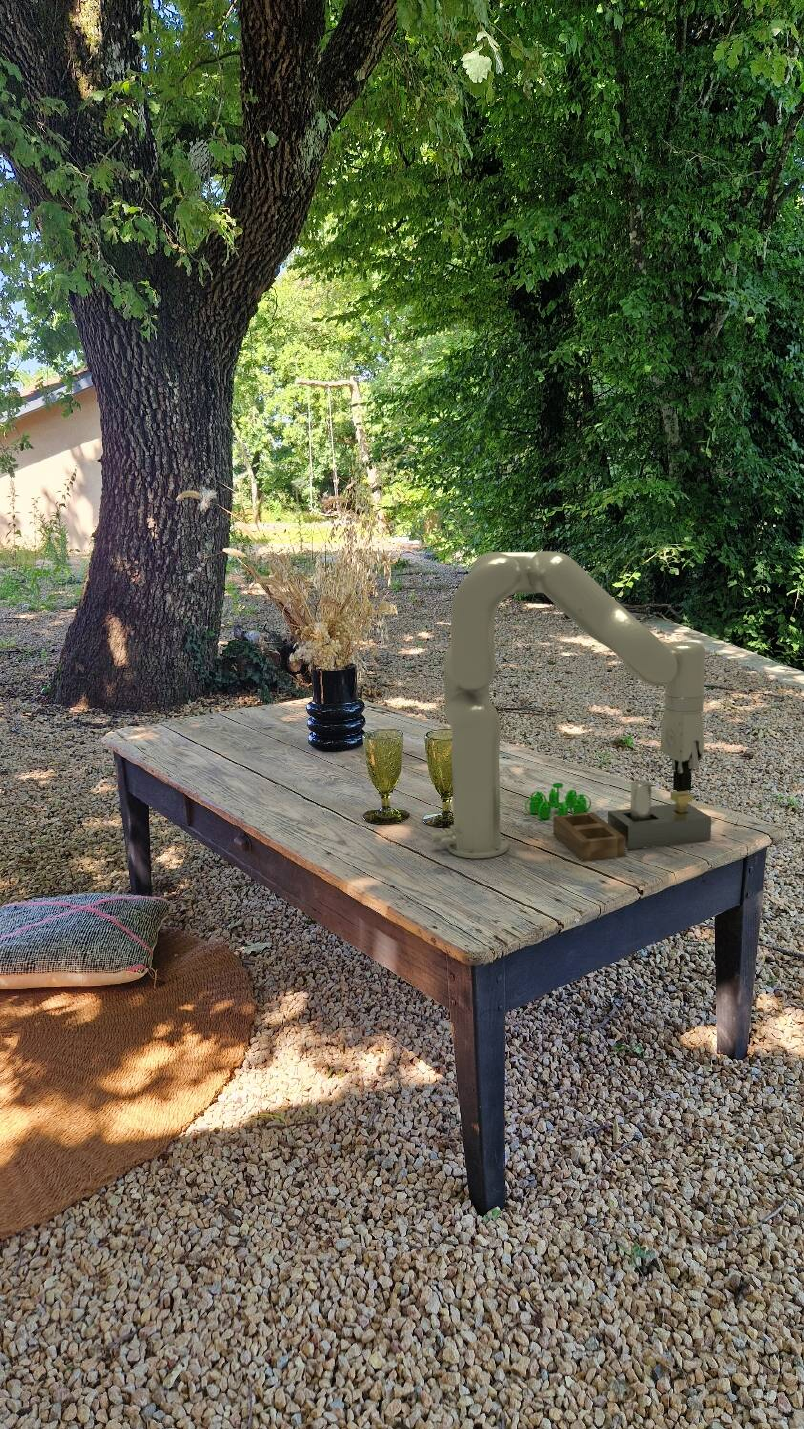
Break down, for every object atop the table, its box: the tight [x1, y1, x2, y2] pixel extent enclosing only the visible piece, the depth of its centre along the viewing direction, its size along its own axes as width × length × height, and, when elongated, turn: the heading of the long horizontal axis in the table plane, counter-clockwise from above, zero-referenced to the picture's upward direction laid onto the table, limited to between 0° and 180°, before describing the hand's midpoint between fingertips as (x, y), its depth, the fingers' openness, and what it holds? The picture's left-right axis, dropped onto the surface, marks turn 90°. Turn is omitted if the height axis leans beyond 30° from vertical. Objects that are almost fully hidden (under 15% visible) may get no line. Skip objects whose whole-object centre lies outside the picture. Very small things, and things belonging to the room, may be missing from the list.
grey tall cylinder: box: [630, 780, 652, 822], centre depth 186 cm, size 4×4×12 cm
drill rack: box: [552, 811, 626, 863], centre depth 185 cm, size 9×16×4 cm, turn 11°
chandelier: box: [524, 782, 592, 821], centre depth 205 cm, size 15×15×7 cm
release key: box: [670, 790, 693, 814], centre depth 188 cm, size 3×3×6 cm
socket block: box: [607, 802, 712, 851], centre depth 188 cm, size 18×10×5 cm, turn 101°
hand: (682, 789), depth 187 cm, fingers closed
